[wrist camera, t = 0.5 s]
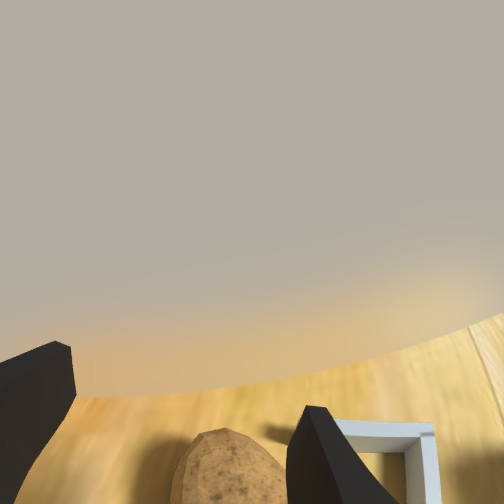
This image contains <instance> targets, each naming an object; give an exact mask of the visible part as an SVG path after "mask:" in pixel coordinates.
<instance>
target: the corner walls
mask: <svg viewBox="0 0 504 504" xmlns="http://www.w3.org/2000/svg"><path fill="white" fill-rule="evenodd" d="M301 416H302V415H301ZM301 416H300V418H301ZM300 418H299V421H300ZM334 420H335V422H336V424H337V425H338V427H339V428H340V430H341V431H342V433H343V434H344V436H345V437H346V439H347V440H348V442H349V443H350V445H351V446H352V448H353V449H354V451H355V452H370V453H404V457H405V473H406V499H407V504H442V499H441V486H440V475H439V466H438V457H437V450H436V442H435V435H434V429H433V423H432V422H428V423H400V422H371V421H355V420H342V419H334ZM299 421H298V423H299ZM298 423H297V425H298ZM297 425H296V428H297ZM296 428H295V430H296ZM295 430H294V432H295ZM293 434H294V433H293Z"/></svg>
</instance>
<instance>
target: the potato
mask: <svg viewBox="0 0 504 504" xmlns="http://www.w3.org/2000/svg"><path fill="white" fill-rule="evenodd" d="M169 504H288V502H287V489H286V470H285V469H284V468H283V467H282V466H281V465H280V464H279V463H278V462H277V461H276V460H275V459H274V458H273V457H272V456H271V455H270V454H269V453H268V451H267V450H265V449H264V448H263V447H261V446H260V445H259V444H258V443H256V442H255V441H254V440H252V439H251V438H250V437H248V436H245V435H243V434H240V433H238V432H235V431H232V430H230V429H227V428H222V429H218V430H213V431H209V432H204V433H199V434H198V436H197V437H196V438H195V439H194V441H193V442H192V443H191V445H190V446H189V447H188V449H187V450H186V451H185V452H184V454H183V455H182V456H181V458H180V459H179V462H178V465H177V468H176V471H175V474H174V477H173V481H172V487H171V495H170V503H169Z"/></svg>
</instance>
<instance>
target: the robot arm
mask: <svg viewBox="0 0 504 504" xmlns="http://www.w3.org/2000/svg"><path fill="white" fill-rule="evenodd" d="M76 395H77V394H76V388H75V381H74V373H73V365H72V356H71V347H70V346H67V345H65V344H62V343H60V342H57V341H54V342H50V343H48V344H45V345H42V346H40V347H37V348H35V349H33V350H30V351H28V352H25V353H23V354H21V355H18V356H16V357H13V358H11V359H8V360H6V361H4V362H1V363H0V504H14V502H15V499H16V497H17V494H18V492H19V490H20V488H21V486H22V483H23V481H24V479H25V477H26V475H27V473H28V471H29V470H30V468H31V466H32V465H33V463H34V462H35V460H36V459H37V457H38V456H39V454H40V453H41V451H42V450H43V449H44V447H45V446H46V444H47V443H48V441H49V440H50V439H51V437H52V436H53V434H54V433H55V432H56V430H57V429H58V427H59V426H60V424H61V423H62V421H63V420H64V418H65V417H66V415H67V413H68V411H69V409H70V407H71V405H72V403H73V401H74V399H75V397H76ZM286 489H287V502H288V504H399V503H398V502H397V501H396V500H395V499H394V498H393V497H392V496H391V495H390V494H389V493H388V492H387V491H386V490H385V489H384V488H383V486H382V485H381V484H380V483H379V482H378V481H377V479H376V478H375V477H374V476H373V475H372V473H371V472H370V471H369V470H368V468H367V467H366V466H365V464H364V463H363V462H362V460H361V459H360V458H359V456H358V455H357V453H356V452H355V451H354V449H353V448H352V446H351V445H350V443H349V442H348V440H347V439H346V437H345V436H344V434H343V433H342V431H341V430H340V428H339V427H338V425H337V424H336V422H335V420H334V419H333V417H332V416H331V414H330V413H329V411H328V410H327V408H326V407H317V406H309V405H306V407H305V409H304V411H303V414H302V416H301V418H300V421H299V423H298V425H297V428H296V430H295V432H294V434H293V436H292V439H291V441H290V443H289V445H288V447H287V458H286Z"/></svg>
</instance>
